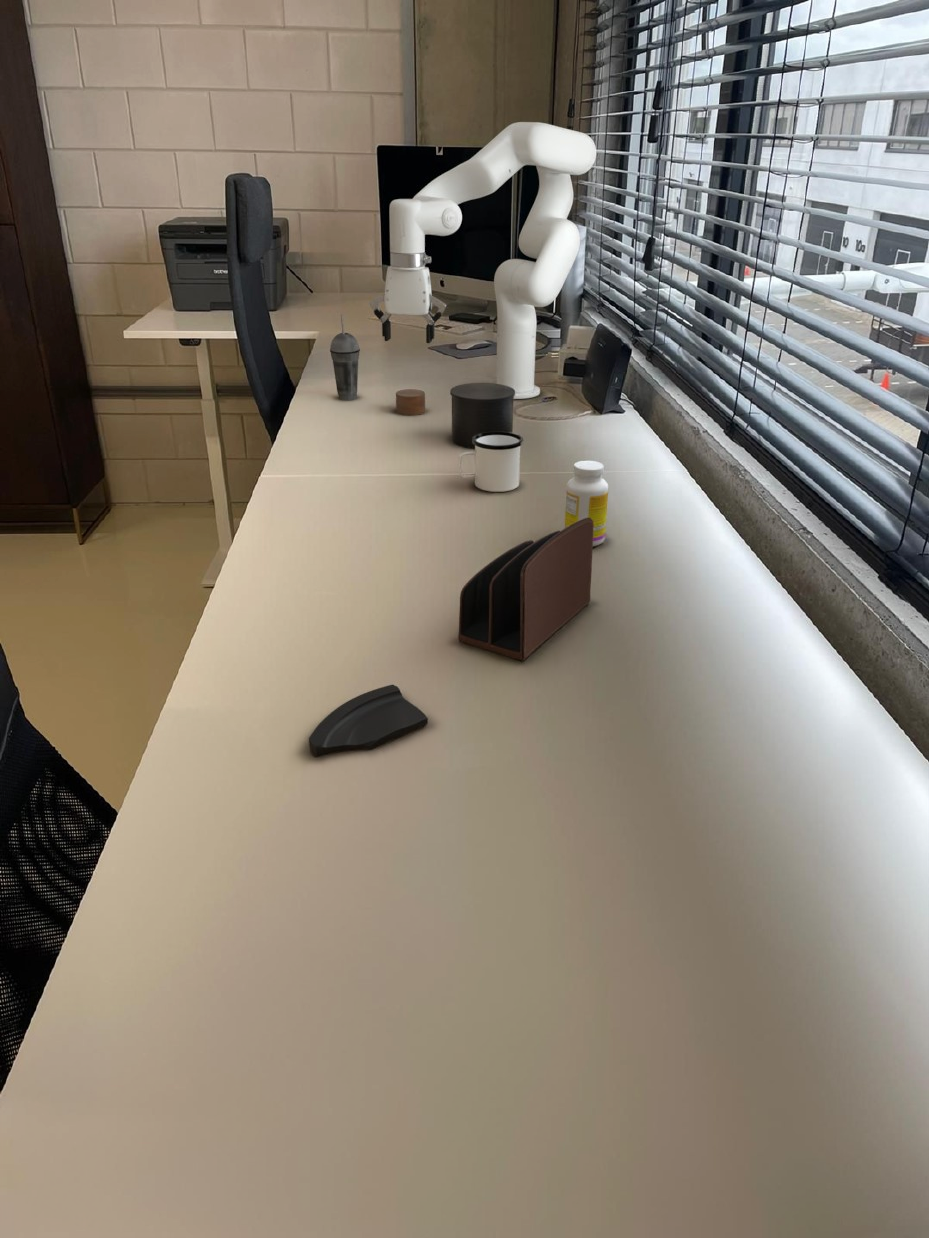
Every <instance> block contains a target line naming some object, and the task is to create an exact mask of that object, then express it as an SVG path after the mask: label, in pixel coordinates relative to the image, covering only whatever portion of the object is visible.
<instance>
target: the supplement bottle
mask: <svg viewBox="0 0 929 1238" xmlns="http://www.w3.org/2000/svg"><path fill="white" fill-rule="evenodd" d="M604 467H605V466H604V464H603V463H602V462H599V461H596V460H579V461H576V462H575V463H574V464H573V474H574V476H573V477H572V478H570V479H569V480H568V482H567V484H566V489H565V509H564V510H565V511H564V512H565V513H564V529H565V528H566V527H568V526H570V525H572V524H573V523H575V522H577V521H579V520H582V519H584V518H588V517H589V518H591V519H592V520H593V524H594V528H593V547H597V546H600V545H601V544H603V543H604V541H605V539H606V533H607V532H606V531H607V515H608V503H609V502H608V501H609V484H608V482H607V480H605V479H604V478H603V477H602V476H603V474H604V469H605V468H604Z"/></svg>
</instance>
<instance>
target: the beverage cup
mask: <svg viewBox="0 0 929 1238" xmlns="http://www.w3.org/2000/svg"><path fill="white" fill-rule="evenodd" d="M340 321H341V332H340V333H338V334H336V335H335V336H334V337H333V339H332V341H331V343H330V349H329V352H330V357H331V360H332V365H333V372H334V380H335V386H336V393H337V396H338V397H337V398H338V400H341V401H354V400H356V399H357V398H358V396H357V395H358V382H359V381H358V379H359V377H358V376H359V359H360V352H361V349H360V348H361V347H360V344H359V341H358V339H357V338H356V337H355V336H354V335H353V334H351V333H349V332H345V323H344V314H340Z"/></svg>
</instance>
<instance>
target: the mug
mask: <svg viewBox="0 0 929 1238" xmlns="http://www.w3.org/2000/svg"><path fill="white" fill-rule="evenodd" d="M472 443H473V444H474V445H475V449H474V450H473V451H471V450H470V451H463V452H461V453H459V456H458V471H459V476H461V477H462V478H469V479H470V478H474V485H475V487H476V488H477V489H479V490H481V491H485V492H489V493H506V492H510V491H511V492H512V491H514V490H515V489H516V488H519V486H520V470H521V469H520V468H521V464H520V463H521V446H522V445H523V444H524V438H523V436H522V435H521V434H518V433H515V432H513V433H511V432H504V431H490V432H483V433H479V434H477V435H475V436H474V437H473V438H472ZM463 456H474V473H469V474H467V473H466V474H463V473H462V472H463V470H462V457H463Z"/></svg>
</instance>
